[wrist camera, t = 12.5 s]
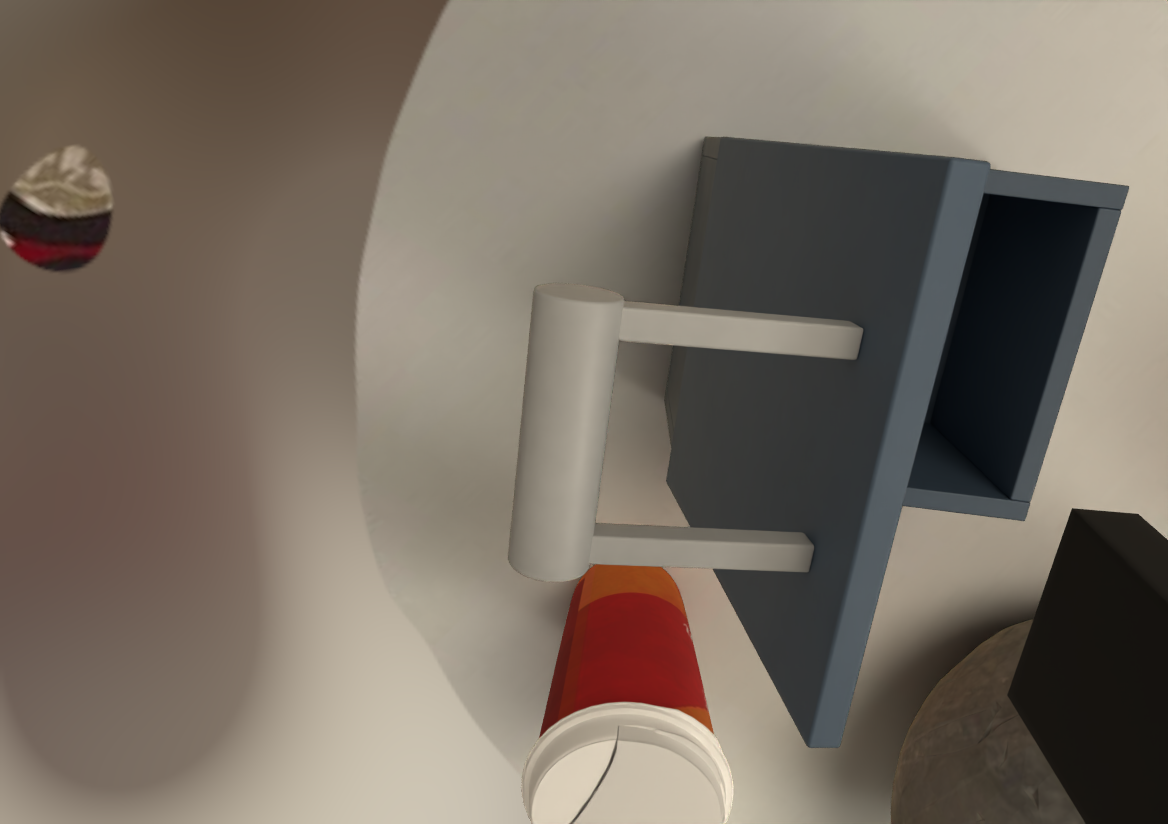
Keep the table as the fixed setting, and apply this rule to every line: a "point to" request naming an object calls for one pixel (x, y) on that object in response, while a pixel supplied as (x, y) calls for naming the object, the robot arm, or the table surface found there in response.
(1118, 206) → the open box
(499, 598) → the table surface
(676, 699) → the coffee cup
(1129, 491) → the table surface
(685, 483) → the box lid
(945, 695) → the bowl
